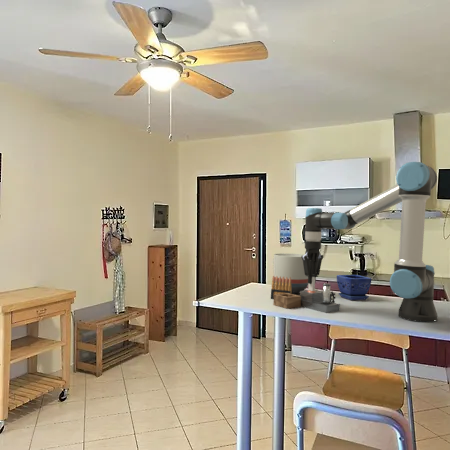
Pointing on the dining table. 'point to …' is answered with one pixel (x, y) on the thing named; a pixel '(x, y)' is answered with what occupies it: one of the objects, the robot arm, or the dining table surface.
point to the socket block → (317, 302)
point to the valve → (330, 296)
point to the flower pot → (353, 286)
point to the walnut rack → (287, 300)
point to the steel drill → (326, 293)
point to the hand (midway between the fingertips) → (311, 290)
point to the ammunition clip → (277, 287)
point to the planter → (291, 271)
